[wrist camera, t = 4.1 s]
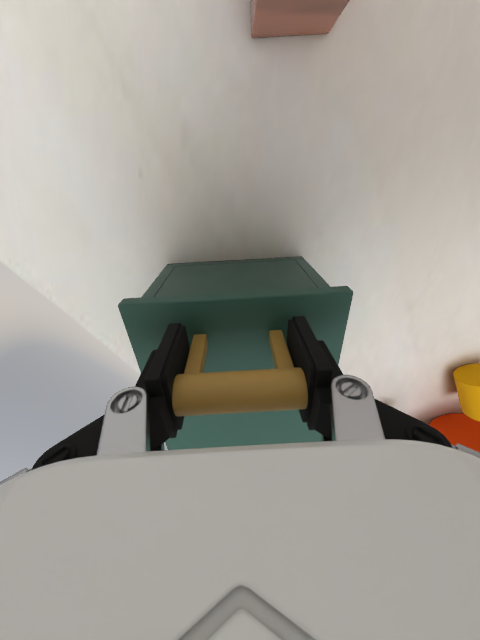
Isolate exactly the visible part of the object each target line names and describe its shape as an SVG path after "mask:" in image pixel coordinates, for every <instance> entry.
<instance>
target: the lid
mask: <svg viewBox="0 0 480 640" xmlns="http://www.w3.org/2000/svg"><path fill="white" fill-rule="evenodd" d="M352 296H353V291H352V290H351V289H350V288H349V287H348V286H338V287H321V288H303V289H286V290H268V291H250V292H233V293H215V294H198V295H180V296H163V297H145V298H127V299H123V300H122V301H121V302H120V303H119V304H118V307H119V310H120V313H121V316H122V319H123V322H124V325H125V328H126V330H127V333H128V336H129V339H130V342H131V345H132V348H133V351H134V353H135V356H136V359H137V362H138V365H139V368H140V371H141V373H142V371H143V369H144V367H145V365H146V362H147V360H148V358H149V356H150V354H151V352H152V351H153V350H157V349H158V347H159V345H160V342H161V340H162V338H163V336H164V333H165V331H166V329H167V327H168V325H169V324H170V323H181V324H182V326H184V325H185V327H186V331H187V336H188V342H189V347H190V351H189V355H188V359H187V363H186V367H185V371H184V374H178V375H176V377H175V379H174V382H173V388H172V407H173V411H174V414H175V415H176V416H184V421H183V426H182V429H181V430H178V431H177V436H176V438H169V439H168V440H167V441H165V442H166V445H167V448H168V450H179V449H195V448H212V447H230V446H247V445H265V444H284V443H303V442H321V434H320V433H319V432H317V431H316V430H309V429H308V426H307V423H303V422H302V419H301V416H300V412H299V410H300V409H306V408H307V405H308V389H307V382H306V378H305V374H304V372H303V370H302V368H300V367H297V368H294V365H293V362H292V359H291V356H290V353H289V350H288V347H287V333H288V320H289V319H292V317H293V316H305V318H306V320H307V322H308V324H309V326H310V327H311V329H312V331H313V333H314V335H315V337H316V339H317V340H323V341H324V342H325V344H326V346H327V347H328V349H329V351H330V353H331V354H332V356H333V358H334V359H335V361H336V363H337V365H338V363H339V358H340V353H341V349H342V344H343V339H344V334H345V330H346V325H347V320H348V315H349V310H350V306H351V301H352Z"/></svg>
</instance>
